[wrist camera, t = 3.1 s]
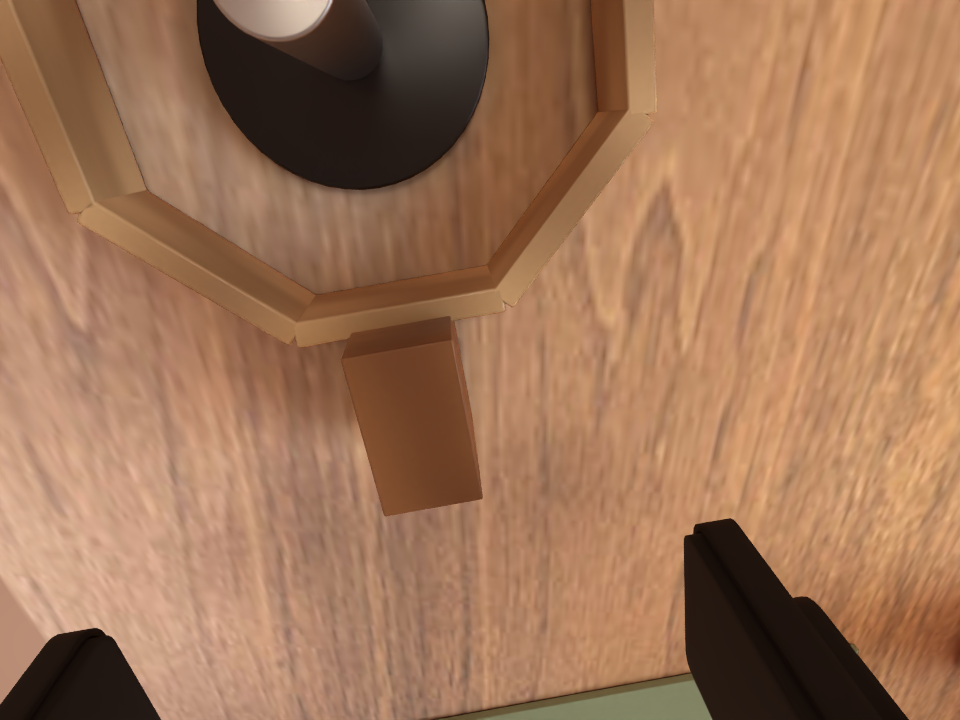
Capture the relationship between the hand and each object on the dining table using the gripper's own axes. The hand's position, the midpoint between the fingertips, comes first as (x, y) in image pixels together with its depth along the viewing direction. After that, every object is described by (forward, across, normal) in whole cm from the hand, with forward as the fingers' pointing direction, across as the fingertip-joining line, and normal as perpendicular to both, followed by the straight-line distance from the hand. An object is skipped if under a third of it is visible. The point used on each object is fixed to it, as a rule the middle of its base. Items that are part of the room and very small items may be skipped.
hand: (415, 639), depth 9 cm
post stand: (+12, 0, -10) cm, 16 cm away
